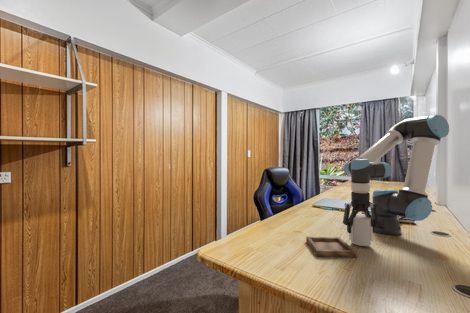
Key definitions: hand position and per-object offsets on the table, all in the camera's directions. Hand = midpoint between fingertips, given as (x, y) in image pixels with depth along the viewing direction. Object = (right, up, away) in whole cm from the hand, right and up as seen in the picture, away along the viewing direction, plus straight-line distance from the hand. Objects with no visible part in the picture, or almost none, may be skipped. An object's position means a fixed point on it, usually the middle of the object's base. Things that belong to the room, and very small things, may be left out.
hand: (360, 239), depth 105 cm
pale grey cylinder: (0, -2, 0) cm, 2 cm away
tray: (-17, -3, -4) cm, 18 cm away
